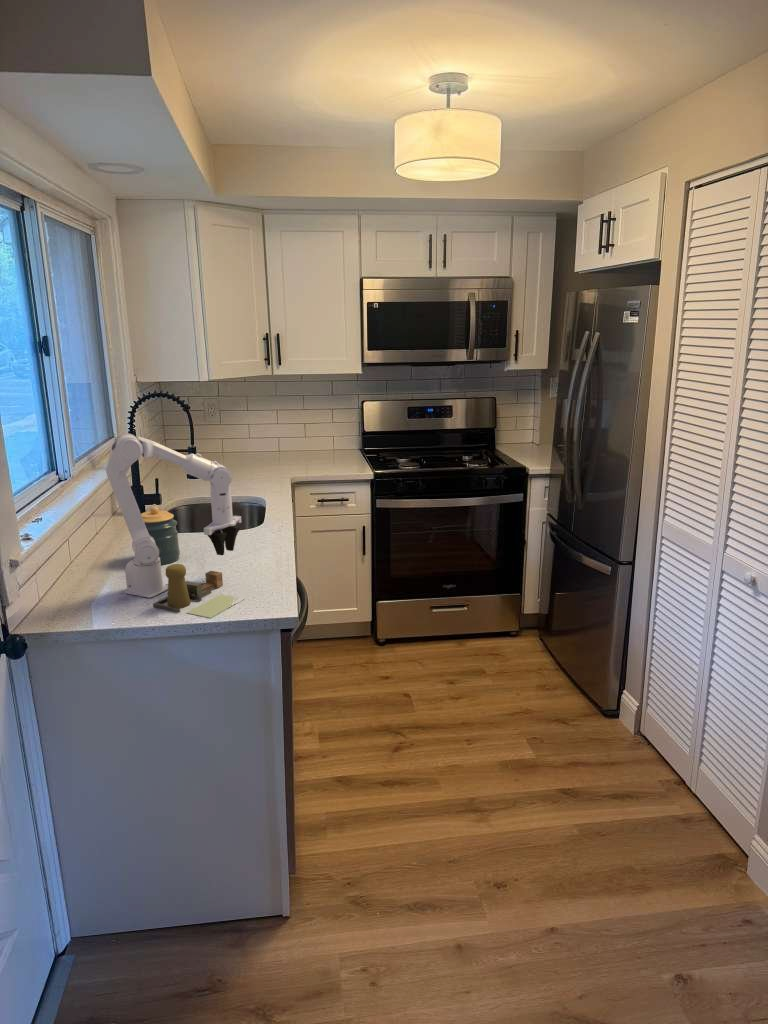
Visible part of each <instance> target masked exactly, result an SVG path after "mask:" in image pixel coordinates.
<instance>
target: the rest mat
mask: <svg viewBox="0 0 768 1024" xmlns="http://www.w3.org/2000/svg"><path fill="white" fill-rule="evenodd" d="M234 597H235V598H236V597H237V598H239V597H238V596H233V595H228V594H219V595H217V596H214V597H213V598H210V599H209V600H208V601H205V602H204V603H201V604H199V605H198V606H196V607H194V608H192V609H190V610H189V611H186V614H188V615H194V616H198V617H202V618H208V619H212V618H214V617H216V616H218V615H220V614H221V613H223V612H225V611H226V609H227V610H228V608H229V607H230V608H232V607H233V605H232V603H233V600H234V599H235V598H234ZM233 598H234V599H233ZM235 601H236V600H235ZM235 601H234V602H235ZM230 603H231V604H230ZM231 605H232V607H231ZM230 608H229V609H230Z"/></svg>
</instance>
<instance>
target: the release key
mask: <svg viewBox="0 0 768 1024" xmlns="http://www.w3.org/2000/svg"><path fill="white" fill-rule="evenodd" d="M204 574H205V583H202V591H204V590H206V589H208V588H210V589H211V591H212V590H214V589H219V588H220V587H222V586H224V582H223V572H221V571H215V570H208V571H207V572H206V573H204Z"/></svg>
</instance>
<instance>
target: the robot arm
mask: <svg viewBox="0 0 768 1024" xmlns="http://www.w3.org/2000/svg"><path fill="white" fill-rule="evenodd" d="M109 452H110V453H109V455H108V460H107V463H106V467H105V472H106V476H107V478H108V482H109V484H110V486H111V488H112V491H113V494H114V496H115V499H116V501H117V503H118V506H119V508H120V511H121V513H122V516H123V519H124V521H125V523H126V526H127V528H128V532H129V534H130V537H131V540H132V543H131V547H132V551H133V552H134V558H133V559H131V560H129V561H128V562H127V563H126V565H125V569H124V573H125V582H126V583H125V584H126V590H125V591H124V594H129V595H133V596H138V597H144V598H149V599H150V598H151V599H152V598H153V597H155V596H157V595H158V596H159V594H162V593H164V592H167V591H168V585H167V586H166V585H163V584H164V582H163V573H162V565H161V562H160V557H159V549H158V547H157V546H156V543H155V540H154V538H153V537H151V536H150V535H149V533H148V531H147V528H146V526H145V523H144V521H143V518H142V515H141V514H142V513H141V510H140V508H139V505H138V503H137V500H136V497H135V495H134V493H133V492H134V491H133V490H132V487H131V485H130V482H129V479H128V476H127V473H128V471H129V469H130V468H131V466H132V465H133V464H134V463H135V462H137V461H138V460H139V459H140V458H141V457H143V459H147V458H151V457H155V458H159V459H160V460H164V461H167V462H169V463H172V464H174V465H178V466H180V467H181V468H182V471H183V473H185V474H187V475H189V476H192V477H194V478H197V479H200V480H202V481H205V482H210V483H209V486H210V503H211V504H210V505H211V506H210V507H211V519H212V522H210V523H209V524H208V525H207V526H205V527H203V534H204V535H205V536H207V537H208V538H209V540H210V541H211V544H213V547H214V550H215V553H216V555H217V556H224V555H225V549H226V551H230V552H233V551H234V549H235V544H236V539H237V536H238V534H239V532H240V529H241V527H240V525H237V524H241V523H242V516H240V515H234V514H233V502H232V501H233V500H232V499H233V498H232V490H231V483H232V481H233V476H232V472H231V471H230V470H229V469H228V468H227V467H226V466H224V465H222V464H221V463H218V461H216V460H213V461H212V460H209V459H207V458H204V457H203V456H202V454H200V453H198V452H196V453H195V454H194V453H189V454H187V455H185V454H183V453H180V452H178V451H176V450H174V449H172V448H169V447H167V446H165V445H163V444H161V443H159V442H156V441H154V440H151V439H148V438H146V437H142V436H135V435H134V434H132V433H122V434H120V435H118V436H117V438H116V439H115V441H113V443H112V444H111V447H110V451H109Z"/></svg>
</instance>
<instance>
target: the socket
mask: <svg viewBox="0 0 768 1024" xmlns="http://www.w3.org/2000/svg"><path fill="white" fill-rule="evenodd" d="M185 581H186V585H187V589H188V594H189V598H190V601H195V602H202V598H204V597H206V596H208V595H210V594H212V590H211V589H210V588H208V589H206V590H204V591H202V585H203V583H199V582H194V581H188V580H185ZM167 598H168V596H166V597H163V598H162V599H159V600H157V601H156V602H152V607H153V609H156V610H157V609H158V610H162V611H166V612H172V613H176V614H178V613H180V612H181V608H180V607H175V606H170V605H167Z"/></svg>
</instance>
